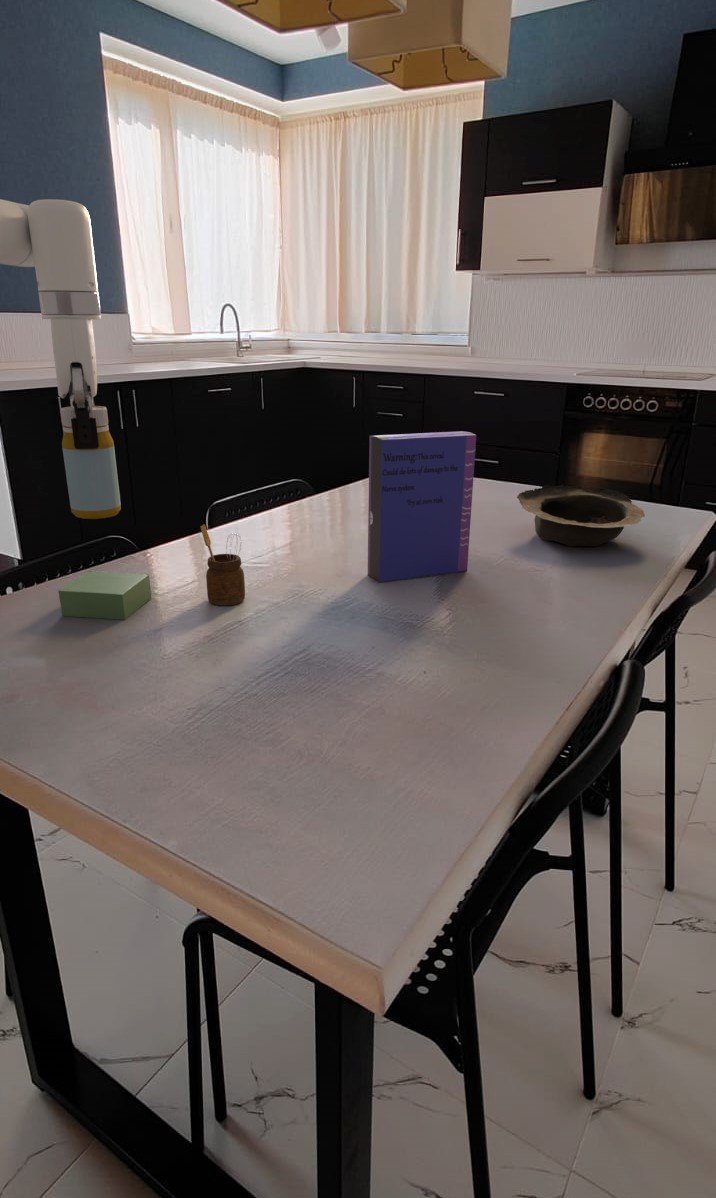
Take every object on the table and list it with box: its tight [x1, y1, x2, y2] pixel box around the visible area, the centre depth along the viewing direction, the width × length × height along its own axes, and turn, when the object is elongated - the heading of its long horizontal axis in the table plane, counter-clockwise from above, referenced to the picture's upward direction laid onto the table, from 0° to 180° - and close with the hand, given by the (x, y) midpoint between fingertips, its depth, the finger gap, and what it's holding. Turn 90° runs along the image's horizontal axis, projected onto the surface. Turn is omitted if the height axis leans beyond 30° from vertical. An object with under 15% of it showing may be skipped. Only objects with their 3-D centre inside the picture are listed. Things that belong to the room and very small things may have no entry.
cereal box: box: [367, 430, 477, 584], centre depth 132 cm, size 17×5×24 cm, turn 113°
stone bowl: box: [516, 483, 646, 548], centre depth 158 cm, size 25×25×9 cm
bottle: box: [60, 405, 122, 520], centre depth 111 cm, size 7×7×15 cm
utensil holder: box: [199, 524, 246, 607], centre depth 120 cm, size 6×6×12 cm
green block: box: [58, 570, 152, 621], centre depth 118 cm, size 10×10×4 cm
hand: (87, 443), depth 109 cm, fingers closed on bottle, 7 cm apart
